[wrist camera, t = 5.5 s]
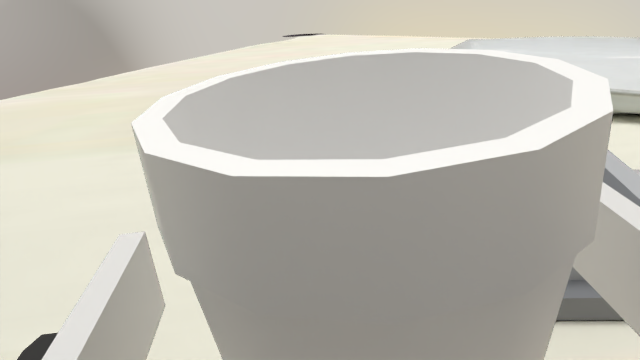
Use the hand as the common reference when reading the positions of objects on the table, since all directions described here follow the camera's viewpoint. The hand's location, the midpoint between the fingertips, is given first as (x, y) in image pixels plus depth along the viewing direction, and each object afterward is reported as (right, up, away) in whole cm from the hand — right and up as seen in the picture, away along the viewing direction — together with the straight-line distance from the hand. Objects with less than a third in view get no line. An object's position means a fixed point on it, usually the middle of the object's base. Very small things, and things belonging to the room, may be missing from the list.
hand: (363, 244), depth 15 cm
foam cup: (+1, -8, +1) cm, 8 cm away
